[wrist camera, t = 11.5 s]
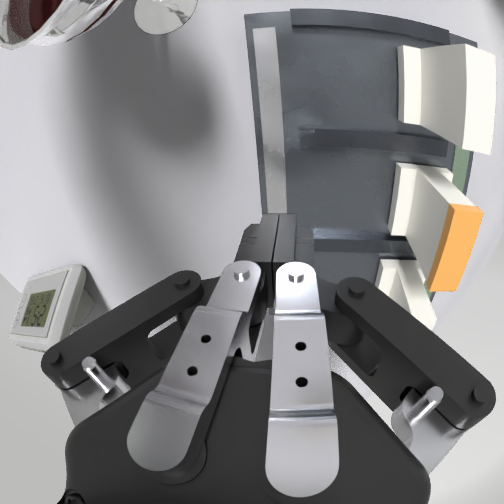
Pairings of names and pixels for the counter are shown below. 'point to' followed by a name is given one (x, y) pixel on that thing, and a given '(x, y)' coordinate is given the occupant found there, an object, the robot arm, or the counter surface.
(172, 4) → the wineglass
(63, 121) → the counter surface
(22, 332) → the digital clock
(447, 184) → the breaker handle
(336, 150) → the breaker panel
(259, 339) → the robot arm
